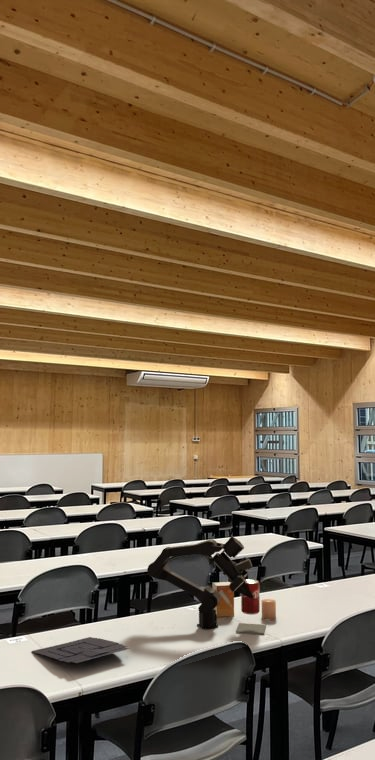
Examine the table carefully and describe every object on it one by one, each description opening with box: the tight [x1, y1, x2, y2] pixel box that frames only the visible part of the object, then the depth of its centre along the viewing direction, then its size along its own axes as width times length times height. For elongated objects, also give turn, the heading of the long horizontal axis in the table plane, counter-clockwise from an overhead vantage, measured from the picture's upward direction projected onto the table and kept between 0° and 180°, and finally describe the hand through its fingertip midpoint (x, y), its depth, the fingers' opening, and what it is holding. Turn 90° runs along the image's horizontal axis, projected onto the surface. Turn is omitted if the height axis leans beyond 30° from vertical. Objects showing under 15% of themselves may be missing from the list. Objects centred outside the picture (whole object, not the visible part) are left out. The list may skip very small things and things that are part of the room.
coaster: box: [235, 622, 267, 636], centre depth 221 cm, size 11×11×1 cm
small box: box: [211, 581, 235, 618], centre depth 243 cm, size 8×6×13 cm
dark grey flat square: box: [31, 636, 131, 664], centre depth 193 cm, size 24×30×4 cm
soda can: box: [240, 579, 261, 616], centre depth 223 cm, size 7×7×12 cm
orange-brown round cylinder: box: [261, 598, 277, 621], centre depth 237 cm, size 6×6×7 cm
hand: (253, 595), depth 223 cm, fingers closed on soda can, 7 cm apart
